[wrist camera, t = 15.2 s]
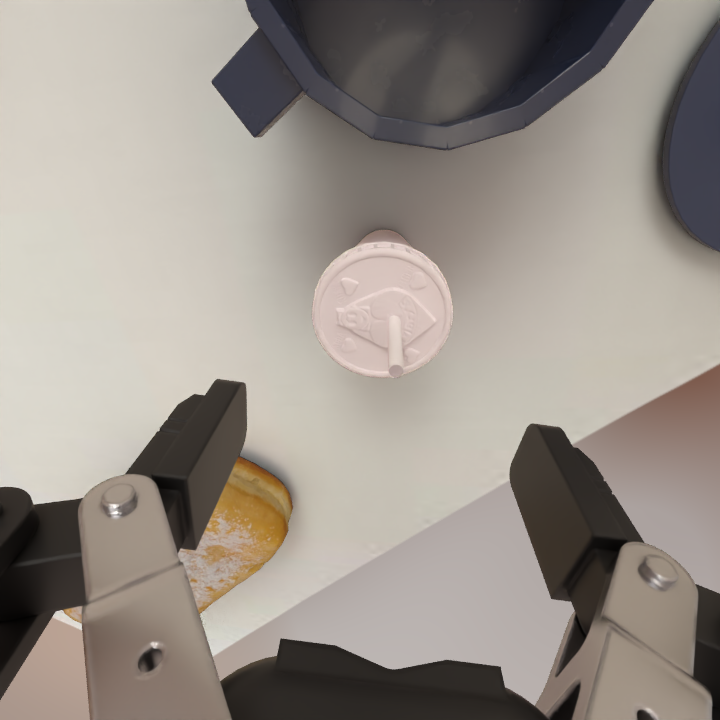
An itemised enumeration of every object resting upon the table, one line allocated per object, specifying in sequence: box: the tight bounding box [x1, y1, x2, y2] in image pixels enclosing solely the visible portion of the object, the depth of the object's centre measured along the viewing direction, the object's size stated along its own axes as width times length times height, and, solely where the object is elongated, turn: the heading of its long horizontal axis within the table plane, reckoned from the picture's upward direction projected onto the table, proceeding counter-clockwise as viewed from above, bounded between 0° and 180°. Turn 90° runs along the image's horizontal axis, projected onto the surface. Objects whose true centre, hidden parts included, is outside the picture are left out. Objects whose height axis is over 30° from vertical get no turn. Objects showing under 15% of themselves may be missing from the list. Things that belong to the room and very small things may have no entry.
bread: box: [63, 456, 293, 623], centre depth 37 cm, size 13×26×8 cm, turn 139°
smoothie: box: [312, 230, 453, 378], centre depth 20 cm, size 6×6×14 cm
